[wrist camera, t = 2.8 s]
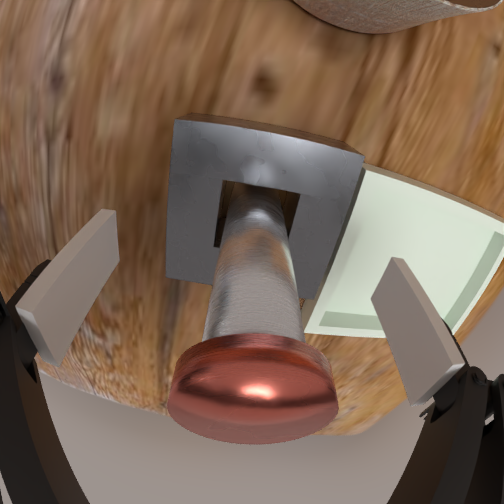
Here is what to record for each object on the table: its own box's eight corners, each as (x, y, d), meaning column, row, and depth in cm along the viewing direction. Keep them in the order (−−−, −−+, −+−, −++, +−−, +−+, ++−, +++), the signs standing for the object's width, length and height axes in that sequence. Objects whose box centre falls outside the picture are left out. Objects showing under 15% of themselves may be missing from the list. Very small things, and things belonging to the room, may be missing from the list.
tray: (300, 311, 25) (303, 332, 23) (353, 159, 18) (366, 170, 15) (442, 322, 26) (450, 338, 24) (502, 217, 19) (516, 229, 17)
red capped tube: (219, 218, 20) (171, 434, 7) (228, 159, 18) (160, 362, 5) (279, 228, 20) (305, 445, 8) (294, 171, 18) (369, 380, 5)
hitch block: (179, 245, 21) (165, 277, 18) (191, 112, 16) (174, 119, 13) (305, 265, 22) (313, 299, 19) (343, 142, 17) (365, 156, 14)
